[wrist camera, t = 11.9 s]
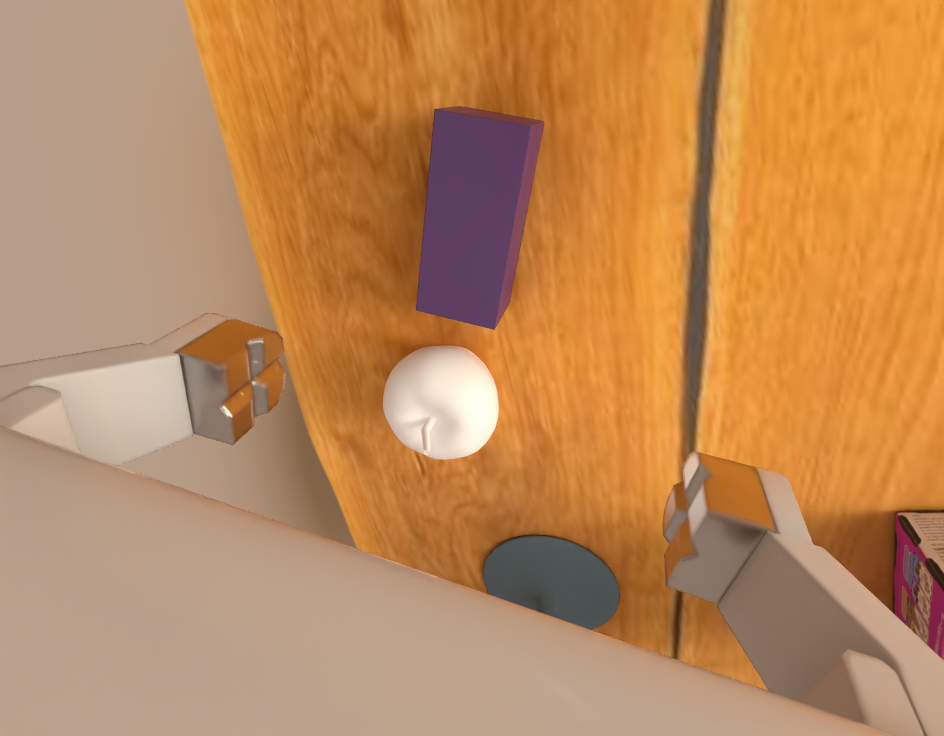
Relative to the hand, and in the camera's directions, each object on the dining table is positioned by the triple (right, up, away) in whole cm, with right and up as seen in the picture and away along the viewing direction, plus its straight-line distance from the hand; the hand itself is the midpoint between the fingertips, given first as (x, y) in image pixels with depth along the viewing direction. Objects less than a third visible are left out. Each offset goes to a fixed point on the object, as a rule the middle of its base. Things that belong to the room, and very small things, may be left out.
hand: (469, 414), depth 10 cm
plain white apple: (-1, +1, +24) cm, 24 cm away
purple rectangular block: (+1, +10, +19) cm, 21 cm away
